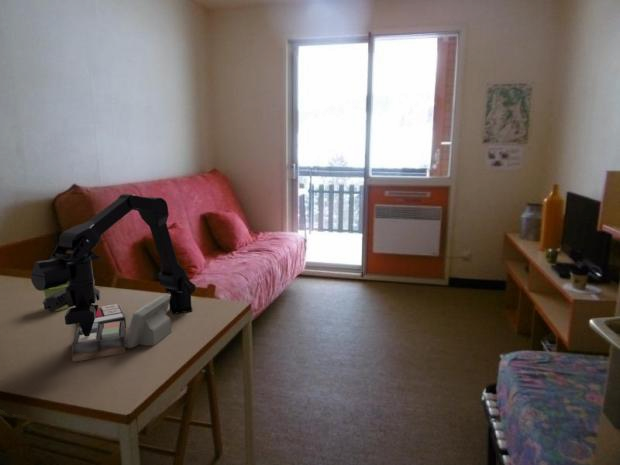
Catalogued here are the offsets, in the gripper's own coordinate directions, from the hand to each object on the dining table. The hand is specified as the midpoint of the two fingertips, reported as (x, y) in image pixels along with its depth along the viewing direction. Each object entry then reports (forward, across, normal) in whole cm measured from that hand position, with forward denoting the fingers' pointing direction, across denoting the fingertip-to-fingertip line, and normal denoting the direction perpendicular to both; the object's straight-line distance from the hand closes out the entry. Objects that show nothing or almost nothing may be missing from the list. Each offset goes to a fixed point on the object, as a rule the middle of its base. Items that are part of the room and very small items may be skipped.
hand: (87, 335), depth 106 cm
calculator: (+5, -19, +2) cm, 20 cm away
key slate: (+2, -5, 0) cm, 6 cm away
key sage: (+2, 0, +5) cm, 6 cm away
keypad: (+5, -3, +3) cm, 6 cm away
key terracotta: (+2, -6, +6) cm, 8 cm away
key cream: (+2, 0, 0) cm, 2 cm away
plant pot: (+5, -39, -12) cm, 41 cm away
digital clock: (+5, -3, +15) cm, 16 cm away
